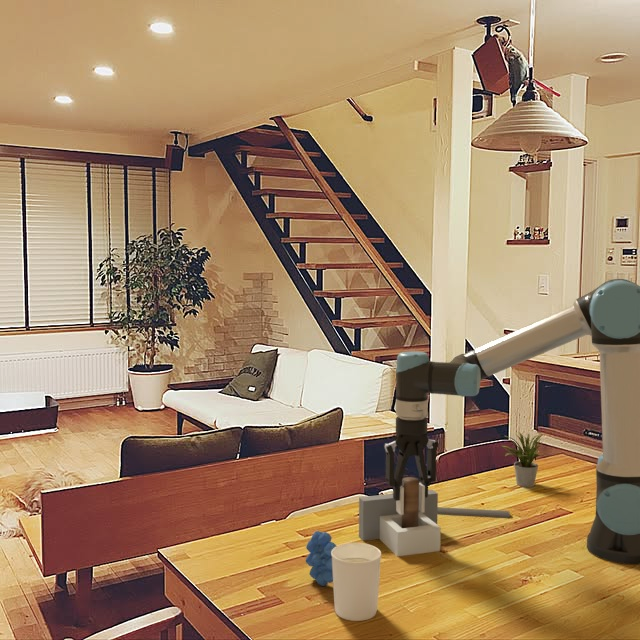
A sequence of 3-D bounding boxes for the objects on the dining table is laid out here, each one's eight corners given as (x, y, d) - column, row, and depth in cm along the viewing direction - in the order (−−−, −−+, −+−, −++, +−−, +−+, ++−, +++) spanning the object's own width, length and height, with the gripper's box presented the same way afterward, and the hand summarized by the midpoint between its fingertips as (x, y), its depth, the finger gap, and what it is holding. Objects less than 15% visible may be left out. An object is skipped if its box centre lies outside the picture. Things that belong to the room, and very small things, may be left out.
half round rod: (510, 520, 197) (510, 514, 197) (436, 516, 200) (436, 510, 200) (508, 515, 201) (508, 508, 201) (435, 511, 204) (436, 504, 204)
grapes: (354, 591, 155) (354, 535, 154) (325, 598, 151) (326, 541, 150) (325, 570, 165) (326, 518, 164) (299, 577, 161) (299, 523, 160)
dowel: (420, 538, 178) (421, 481, 177) (405, 540, 177) (406, 482, 176) (413, 532, 182) (414, 476, 181) (398, 534, 181) (399, 478, 179)
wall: (437, 531, 188) (437, 493, 187) (363, 540, 182) (363, 501, 181) (431, 527, 191) (432, 489, 190) (358, 536, 185) (359, 497, 184)
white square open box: (440, 551, 176) (440, 527, 175) (397, 557, 173) (397, 532, 172) (420, 534, 186) (420, 511, 186) (379, 539, 183) (379, 516, 183)
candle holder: (377, 599, 151) (378, 542, 150) (383, 623, 142) (384, 562, 140) (329, 599, 151) (329, 542, 150) (332, 623, 141) (332, 563, 140)
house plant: (521, 473, 237) (522, 423, 236) (559, 484, 227) (561, 431, 225) (493, 482, 228) (494, 430, 227) (531, 493, 218) (533, 439, 216)
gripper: (382, 422, 170) (381, 521, 173) (452, 417, 176) (450, 513, 178) (370, 415, 178) (370, 510, 180) (438, 411, 183) (436, 503, 185)
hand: (410, 511), depth 179 cm, fingers open, 5 cm apart
